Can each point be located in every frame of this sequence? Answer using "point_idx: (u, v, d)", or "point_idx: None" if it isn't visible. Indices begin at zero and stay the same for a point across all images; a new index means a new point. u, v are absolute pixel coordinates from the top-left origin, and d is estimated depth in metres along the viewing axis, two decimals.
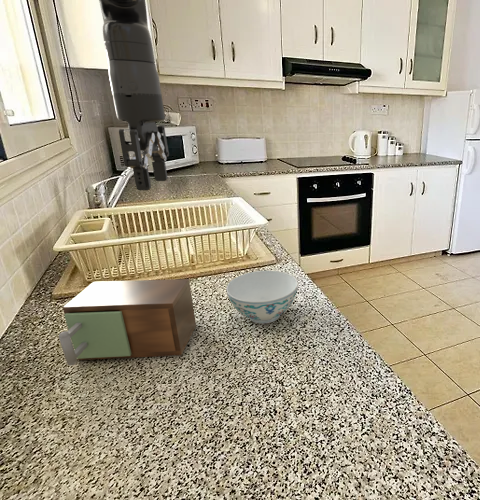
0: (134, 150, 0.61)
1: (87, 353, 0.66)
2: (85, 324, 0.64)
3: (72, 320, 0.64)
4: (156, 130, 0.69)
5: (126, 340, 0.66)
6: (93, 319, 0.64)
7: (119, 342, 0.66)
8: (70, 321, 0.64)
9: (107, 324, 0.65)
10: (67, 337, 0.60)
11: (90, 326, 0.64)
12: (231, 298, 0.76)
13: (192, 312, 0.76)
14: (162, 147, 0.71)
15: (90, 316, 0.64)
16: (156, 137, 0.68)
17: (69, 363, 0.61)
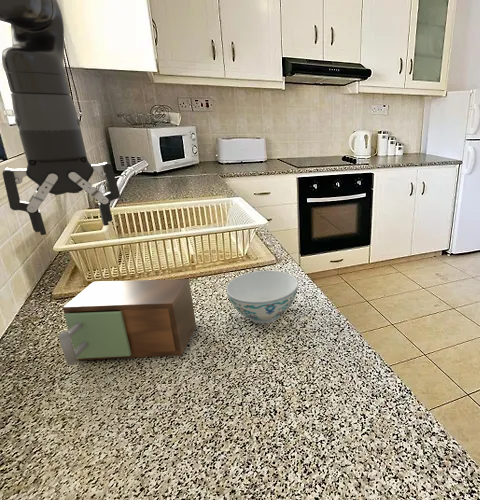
0: None
1: (87, 353, 0.66)
2: (85, 324, 0.64)
3: (72, 320, 0.64)
4: (83, 169, 0.59)
5: (126, 340, 0.66)
6: (93, 319, 0.64)
7: (119, 342, 0.66)
8: (70, 321, 0.64)
9: (107, 324, 0.65)
10: (67, 337, 0.60)
11: (90, 326, 0.64)
12: (231, 298, 0.76)
13: (192, 312, 0.76)
14: (88, 189, 0.60)
15: (90, 316, 0.64)
16: (70, 178, 0.58)
17: (69, 363, 0.61)
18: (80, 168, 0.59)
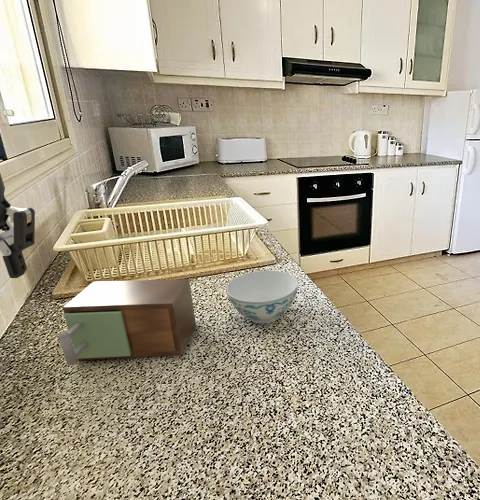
0: None
1: (87, 353, 0.66)
2: (85, 324, 0.64)
3: (72, 320, 0.64)
4: None
5: (126, 340, 0.66)
6: (93, 319, 0.64)
7: (119, 342, 0.66)
8: (70, 321, 0.64)
9: (107, 324, 0.65)
10: (67, 337, 0.60)
11: (90, 326, 0.64)
12: (231, 298, 0.76)
13: (192, 312, 0.76)
14: None
15: (90, 316, 0.64)
16: None
17: (69, 363, 0.61)
18: None
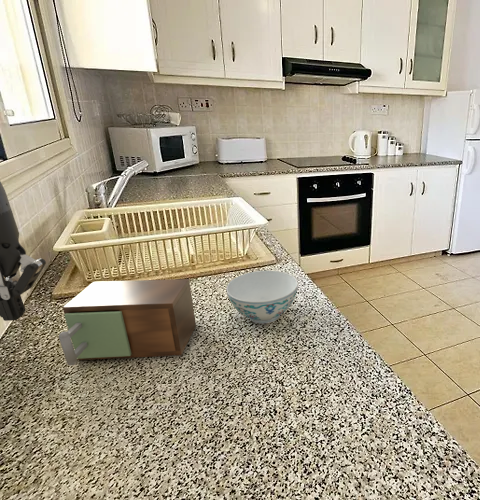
0: None
1: (87, 353, 0.66)
2: (85, 324, 0.64)
3: (72, 320, 0.64)
4: (6, 256, 0.54)
5: (126, 340, 0.66)
6: (93, 319, 0.64)
7: (119, 342, 0.66)
8: (70, 321, 0.64)
9: (107, 324, 0.65)
10: (67, 337, 0.60)
11: (90, 326, 0.64)
12: (231, 298, 0.76)
13: (192, 312, 0.76)
14: None
15: (90, 316, 0.64)
16: None
17: (69, 363, 0.61)
18: (5, 252, 0.53)
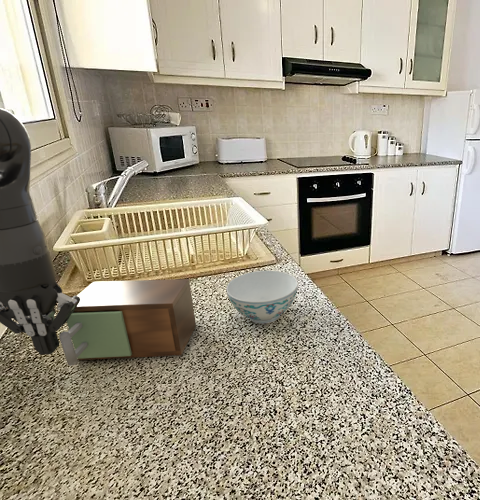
0: None
1: (87, 353, 0.66)
2: (86, 324, 0.64)
3: (72, 320, 0.64)
4: (44, 295, 0.56)
5: (127, 340, 0.66)
6: (93, 319, 0.64)
7: (119, 342, 0.66)
8: (70, 321, 0.64)
9: (108, 323, 0.65)
10: (68, 337, 0.60)
11: (90, 326, 0.64)
12: (231, 298, 0.76)
13: (192, 312, 0.76)
14: (34, 318, 0.57)
15: (90, 316, 0.64)
16: None
17: (69, 363, 0.61)
18: (43, 292, 0.56)
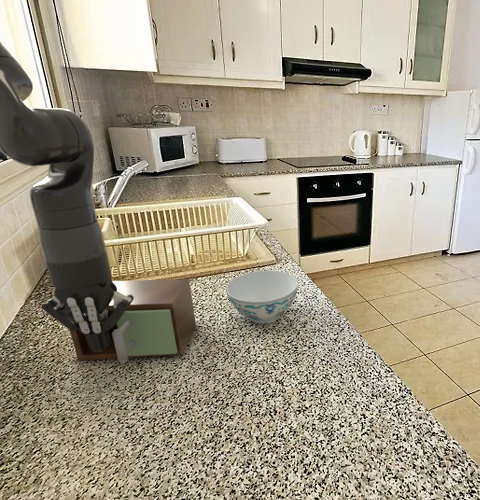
0: None
1: (135, 350, 0.67)
2: (135, 322, 0.65)
3: (122, 318, 0.65)
4: (102, 293, 0.57)
5: (174, 338, 0.67)
6: (142, 317, 0.65)
7: (166, 340, 0.67)
8: (120, 319, 0.65)
9: (156, 322, 0.66)
10: (120, 335, 0.61)
11: (139, 324, 0.65)
12: (231, 298, 0.76)
13: (192, 312, 0.76)
14: (91, 316, 0.58)
15: (140, 314, 0.65)
16: None
17: (121, 360, 0.62)
18: (101, 290, 0.57)
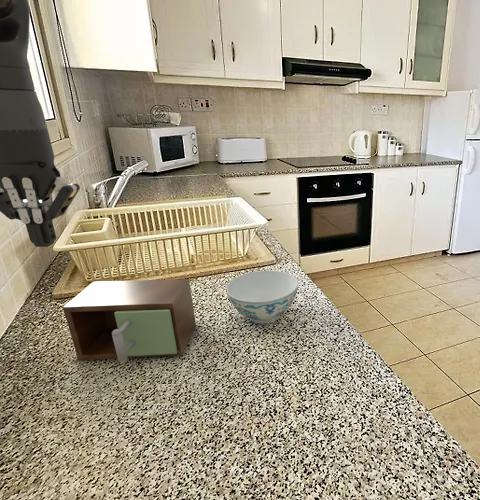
0: None
1: (134, 350, 0.67)
2: (135, 322, 0.65)
3: (122, 318, 0.65)
4: (41, 175, 0.52)
5: (174, 338, 0.67)
6: (142, 317, 0.65)
7: (166, 340, 0.67)
8: (120, 319, 0.65)
9: (156, 322, 0.66)
10: (120, 335, 0.61)
11: (139, 324, 0.65)
12: (231, 298, 0.76)
13: (192, 312, 0.76)
14: (30, 201, 0.53)
15: (139, 314, 0.65)
16: None
17: (121, 360, 0.62)
18: (40, 171, 0.52)
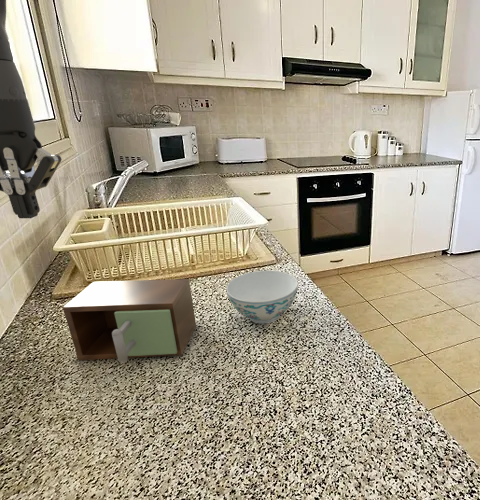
0: None
1: (134, 350, 0.67)
2: (135, 322, 0.65)
3: (122, 318, 0.65)
4: (22, 146, 0.53)
5: (174, 338, 0.67)
6: (142, 317, 0.65)
7: (166, 340, 0.67)
8: (120, 319, 0.65)
9: (156, 322, 0.66)
10: (120, 335, 0.61)
11: (139, 324, 0.65)
12: (231, 298, 0.76)
13: (192, 312, 0.76)
14: (12, 171, 0.54)
15: (139, 314, 0.65)
16: None
17: (121, 360, 0.62)
18: (21, 142, 0.53)
